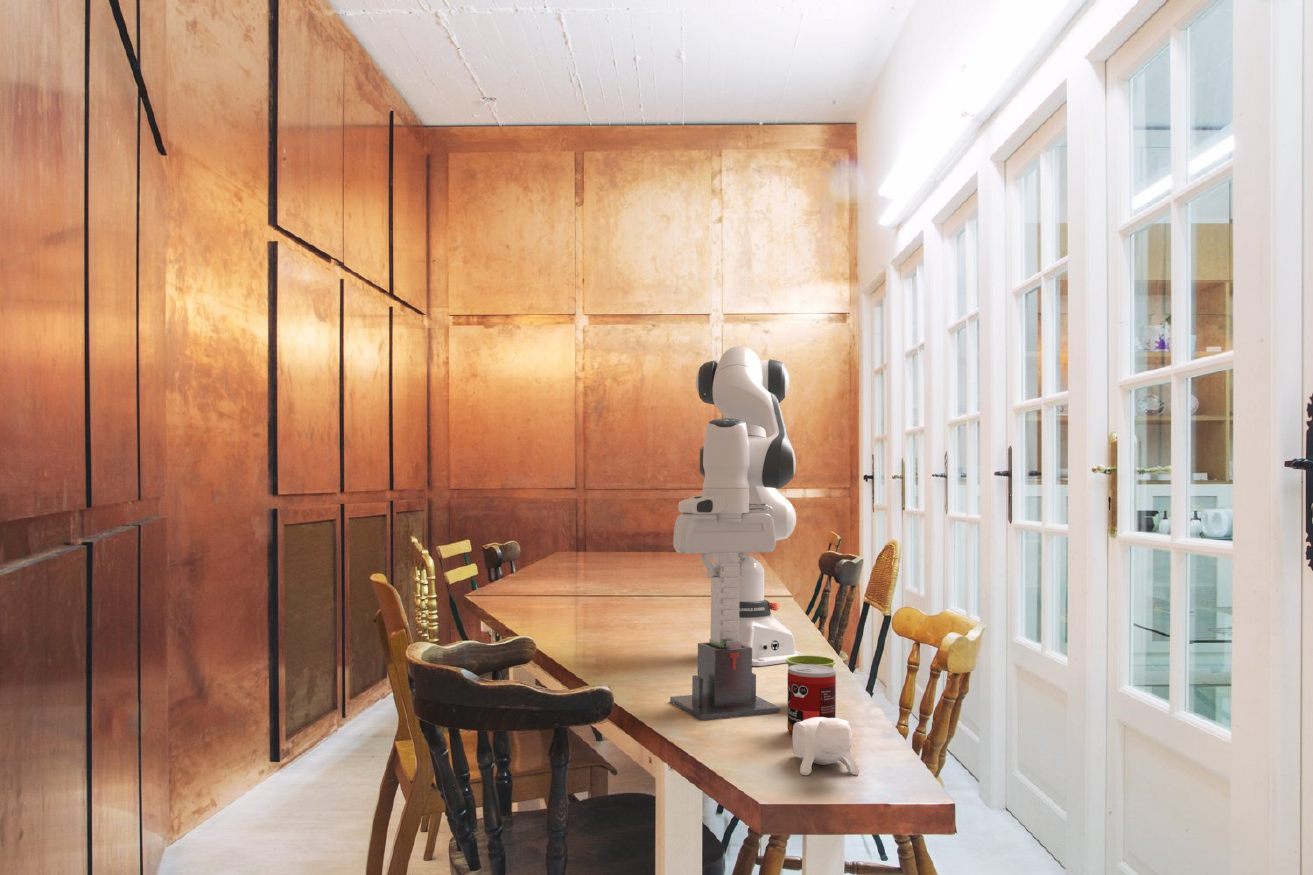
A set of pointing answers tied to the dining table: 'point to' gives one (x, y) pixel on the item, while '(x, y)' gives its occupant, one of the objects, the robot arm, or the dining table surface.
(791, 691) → the canned food
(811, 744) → the white molar tooth
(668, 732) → the dining table surface
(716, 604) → the column
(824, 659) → the plant pot
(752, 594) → the robot arm
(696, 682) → the stand
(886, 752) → the dining table surface
